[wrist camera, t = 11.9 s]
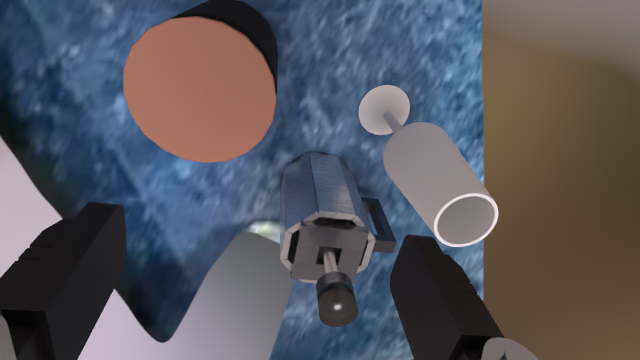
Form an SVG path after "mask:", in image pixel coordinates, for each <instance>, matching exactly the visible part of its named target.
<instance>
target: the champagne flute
mask: <svg viewBox="0 0 640 360" xmlns="http://www.w3.org/2000/svg"><path fill="white" fill-rule="evenodd" d="M409 111H410V103H409V99H408V97H407V95H406V94H405V92H404V91H403V90H401V89H400V88H398V87H396V86H392V85H382V86H378V87H376V88H374V89H372V90H371V91H369V92H368V93H367V94H366V95H365V96H364V98H363V99H362V101H361V103H360V106H359V113H358V114H359V119H360V122H361V124H362V126H363V127H364V128H365V129H366V130H367V131H369V132H370V133H373V134H376V135H386V134H390V133H393V132H394V134H393V135H392V136H391V137H390V139H389V140H388V142H387V144H386V146H385V149H384V153H383V163H384V167H385V170H386V172H387V174H388V175H389V176H390V178H391V179H392V180H393V182H394V183H395V184H396V185H397V187H398V188H399V189H400V191H401V192H402V193H403V195H404V196H405V197H406V198H407V200H408V201H409V202H410V204H411V205H412V206H413V207H414V209H415V210H416V211H417V213H418V214H419V215H420V216H421V218H422V219H423V220H424V222H425V223H426V224H427V226H428V227H429V228H430V229H431V231H432V232H433V233H434V235H435V236H436V237H437V238H438V239H439V240H440V241H441V242H442V243H444V244H445V245H448V246H452V247H463V246H468V245H471V244H474V243H476V242H478V241H480V240H481V239H483V238H484V237H486V236H487V235H488V234H489V233H490V232H491V230H492V229H493V228H494V226H495V224H496V222H497V219H498V207H497V206H496V203H495V201H494V200H493V199H492V197H491V196H490V194H489V193H488V192H487V190H486V189H485V187H484V186H483V184H482V183H481V182H480V180H479V179H478V177H477V176H476V175H475V173H474V172H473V170H472V169H471V168H470V166H469V165H468V163H467V162H466V160H465V159H464V158H463V156H462V155H461V153H460V152H459V151H458V149H457V148H456V146H455V145H454V143H453V142H452V141H451V139H450V138H449V136H448V135H447V134H446V133H445V131H444V130H443V129H441V128H440V127H439V126H436V125H434V124H432V123H427V122H416V123H411V124H408V125H406V126H402V125H403V124H404V123H405V121H406V120H407V118H408V115H409Z"/></svg>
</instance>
